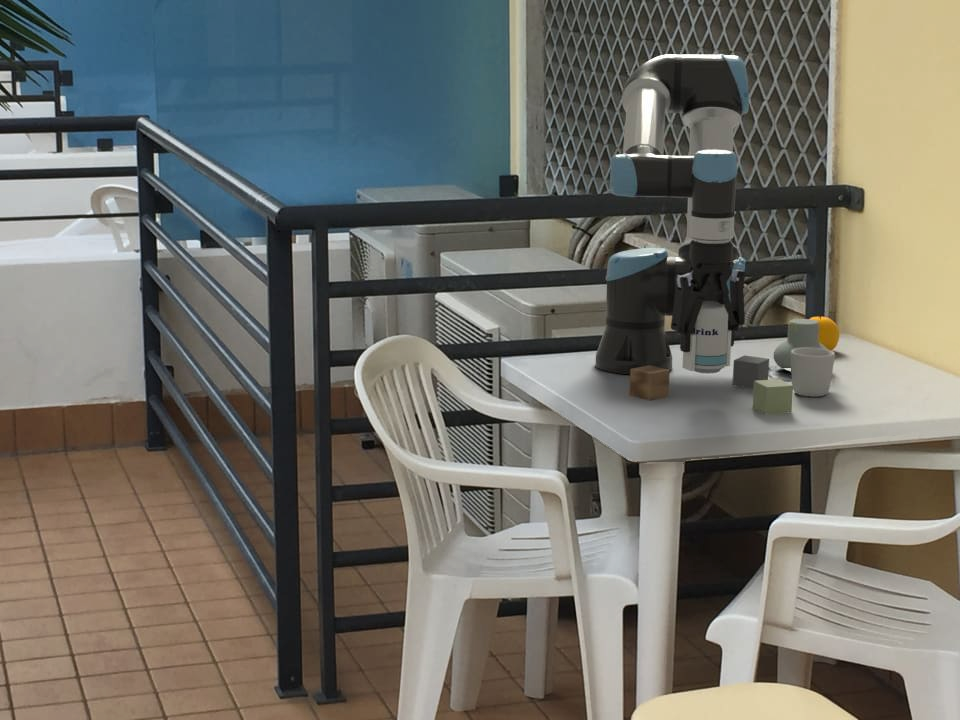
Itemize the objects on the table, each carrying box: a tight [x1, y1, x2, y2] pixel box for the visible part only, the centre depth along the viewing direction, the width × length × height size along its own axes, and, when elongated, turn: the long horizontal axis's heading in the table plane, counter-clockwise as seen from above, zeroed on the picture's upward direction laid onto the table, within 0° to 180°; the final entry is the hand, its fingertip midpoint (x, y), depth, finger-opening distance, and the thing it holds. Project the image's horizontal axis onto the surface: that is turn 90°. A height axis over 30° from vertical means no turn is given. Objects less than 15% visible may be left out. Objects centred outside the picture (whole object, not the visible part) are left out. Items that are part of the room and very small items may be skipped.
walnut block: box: [629, 365, 671, 401], centre depth 269 cm, size 5×5×5 cm
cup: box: [790, 347, 836, 398], centre depth 271 cm, size 11×8×8 cm
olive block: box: [752, 378, 794, 415], centre depth 259 cm, size 5×5×5 cm
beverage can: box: [692, 301, 728, 374], centre depth 262 cm, size 7×7×12 cm
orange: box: [809, 315, 840, 351], centre depth 306 cm, size 8×8×8 cm
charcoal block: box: [732, 354, 770, 390], centre depth 277 cm, size 5×5×5 cm
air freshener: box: [772, 318, 828, 369], centre depth 288 cm, size 11×8×10 cm
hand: (706, 366), depth 263 cm, fingers closed on beverage can, 7 cm apart
